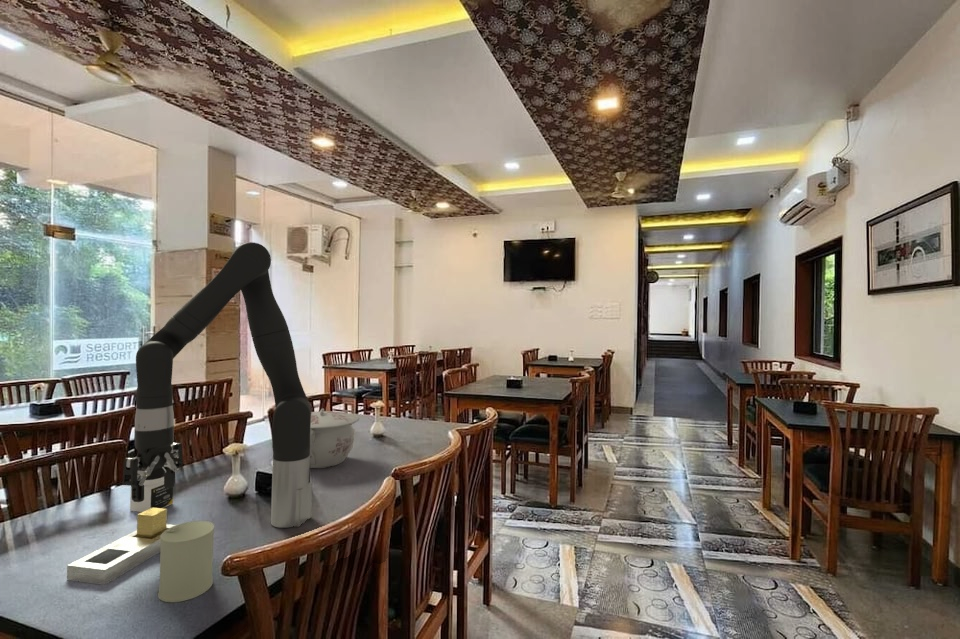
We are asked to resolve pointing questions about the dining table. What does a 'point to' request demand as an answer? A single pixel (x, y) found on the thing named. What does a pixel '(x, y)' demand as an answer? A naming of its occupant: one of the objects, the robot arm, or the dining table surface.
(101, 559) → the rail
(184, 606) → the dining table surface
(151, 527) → the yellow block
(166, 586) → the can
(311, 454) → the chamber pot
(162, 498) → the medicine bottle
